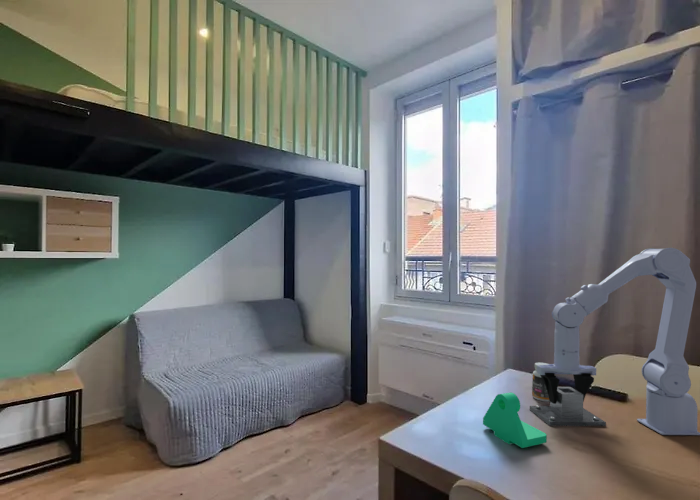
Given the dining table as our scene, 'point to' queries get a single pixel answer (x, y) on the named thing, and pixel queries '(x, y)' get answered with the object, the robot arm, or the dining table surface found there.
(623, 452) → the dining table surface
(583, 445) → the dining table surface
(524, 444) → the camera mount
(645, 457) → the dining table surface
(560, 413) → the grey square socket
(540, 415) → the dark grey mounting plate
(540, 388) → the pill bottle
